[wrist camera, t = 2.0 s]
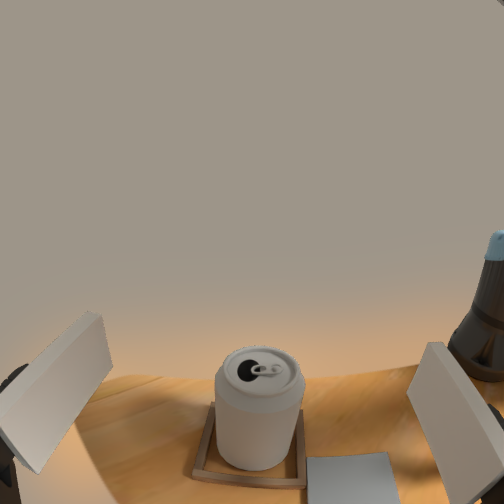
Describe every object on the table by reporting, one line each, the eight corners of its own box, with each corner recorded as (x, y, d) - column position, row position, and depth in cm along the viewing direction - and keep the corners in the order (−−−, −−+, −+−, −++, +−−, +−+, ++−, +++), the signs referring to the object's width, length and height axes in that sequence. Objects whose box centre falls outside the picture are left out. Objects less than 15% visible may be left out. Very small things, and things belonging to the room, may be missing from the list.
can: (224, 417, 29) (224, 334, 26) (289, 425, 29) (307, 343, 25) (210, 468, 22) (203, 390, 19) (286, 478, 22) (310, 402, 18)
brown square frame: (301, 414, 30) (302, 409, 30) (304, 489, 20) (306, 485, 20) (211, 407, 31) (211, 401, 31) (192, 479, 21) (191, 475, 20)
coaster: (385, 454, 23) (387, 451, 23) (400, 519, 15) (403, 517, 14) (305, 459, 24) (306, 457, 24) (307, 532, 15) (309, 531, 15)
